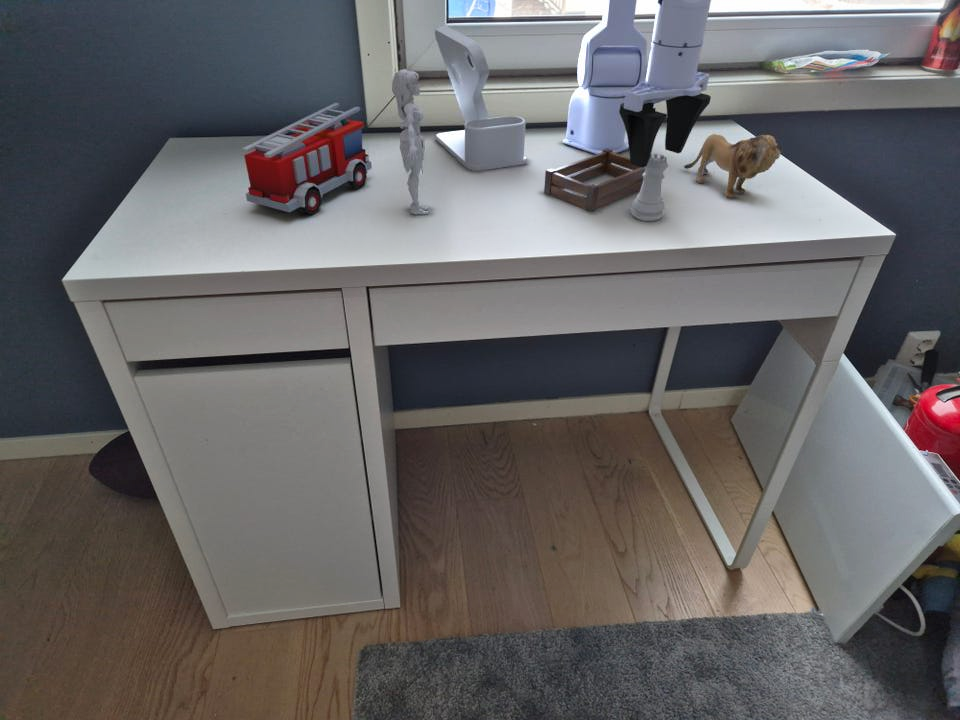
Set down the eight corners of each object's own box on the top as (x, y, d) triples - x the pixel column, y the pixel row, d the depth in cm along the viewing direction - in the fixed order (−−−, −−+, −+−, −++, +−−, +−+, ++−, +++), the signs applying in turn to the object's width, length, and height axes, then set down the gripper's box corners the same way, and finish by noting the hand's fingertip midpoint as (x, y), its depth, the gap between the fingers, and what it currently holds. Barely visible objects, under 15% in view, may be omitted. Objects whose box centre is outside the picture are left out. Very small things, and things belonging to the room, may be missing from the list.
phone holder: (530, 164, 103) (537, 39, 92) (470, 172, 100) (471, 45, 89) (487, 131, 116) (489, 18, 105) (433, 138, 113) (429, 22, 102)
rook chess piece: (665, 211, 89) (676, 153, 85) (661, 224, 86) (672, 165, 81) (632, 206, 91) (641, 149, 86) (627, 219, 87) (636, 160, 82)
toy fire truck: (378, 178, 98) (373, 109, 92) (294, 225, 84) (281, 149, 78) (331, 167, 101) (322, 100, 95) (243, 211, 88) (226, 136, 82)
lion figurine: (773, 199, 93) (792, 136, 88) (749, 207, 91) (767, 143, 85) (694, 167, 103) (707, 108, 97) (670, 174, 100) (682, 114, 95)
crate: (543, 192, 94) (545, 170, 92) (604, 170, 102) (607, 148, 100) (591, 212, 89) (593, 188, 87) (651, 186, 96) (655, 164, 94)
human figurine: (432, 230, 84) (427, 82, 73) (403, 232, 83) (394, 83, 73) (423, 193, 93) (417, 58, 83) (397, 195, 93) (387, 59, 82)
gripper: (669, 57, 69) (648, 181, 77) (740, 39, 77) (714, 153, 85) (616, 46, 73) (601, 164, 82) (689, 30, 81) (668, 139, 89)
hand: (656, 157), depth 84 cm, fingers open, 7 cm apart
